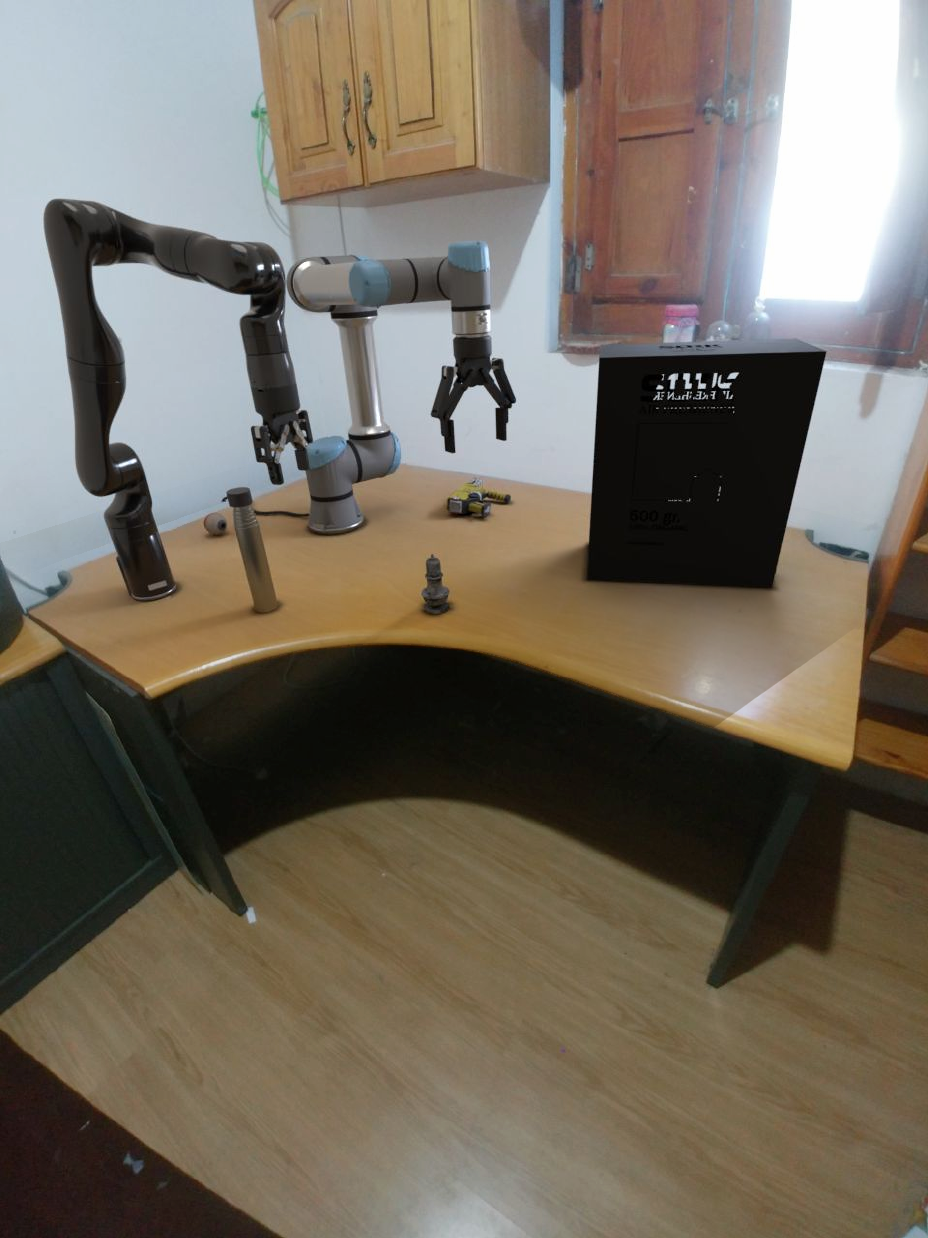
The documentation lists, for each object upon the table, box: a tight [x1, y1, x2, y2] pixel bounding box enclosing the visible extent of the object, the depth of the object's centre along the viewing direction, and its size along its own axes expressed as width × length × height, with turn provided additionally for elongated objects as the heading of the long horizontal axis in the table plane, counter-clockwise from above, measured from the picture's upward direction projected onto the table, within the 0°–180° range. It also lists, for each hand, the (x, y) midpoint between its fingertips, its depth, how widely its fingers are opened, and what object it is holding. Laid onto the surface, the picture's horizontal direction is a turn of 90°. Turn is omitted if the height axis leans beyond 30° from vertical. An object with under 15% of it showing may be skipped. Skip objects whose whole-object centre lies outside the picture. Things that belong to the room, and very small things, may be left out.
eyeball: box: [203, 512, 228, 536], centre depth 166 cm, size 6×6×6 cm
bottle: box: [232, 504, 279, 614], centre depth 123 cm, size 5×5×25 cm
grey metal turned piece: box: [420, 553, 451, 614], centre depth 122 cm, size 6×6×12 cm
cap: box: [225, 486, 254, 509], centre depth 117 cm, size 4×4×3 cm
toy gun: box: [446, 477, 512, 518], centre depth 177 cm, size 5×24×15 cm
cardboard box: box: [586, 338, 828, 589], centre depth 126 cm, size 38×20×45 cm, turn 78°
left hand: (291, 476), depth 109 cm, fingers open, 8 cm apart
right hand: (476, 445), depth 127 cm, fingers open, 13 cm apart
